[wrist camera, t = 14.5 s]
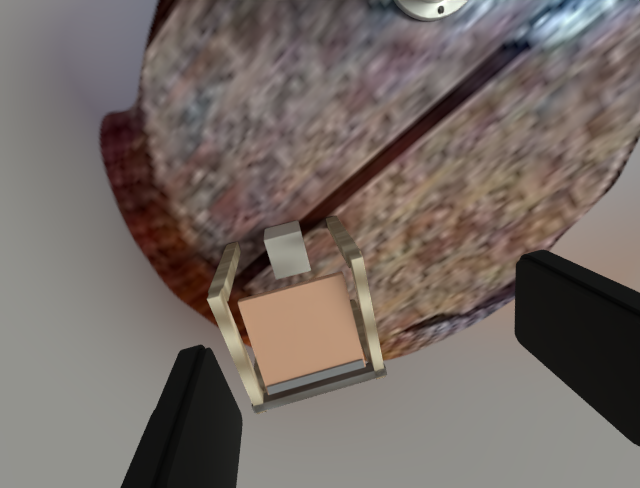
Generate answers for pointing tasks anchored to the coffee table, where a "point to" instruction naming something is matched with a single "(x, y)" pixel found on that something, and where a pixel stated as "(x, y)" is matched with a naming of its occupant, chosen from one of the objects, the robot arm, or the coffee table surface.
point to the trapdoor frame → (248, 374)
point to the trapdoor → (303, 332)
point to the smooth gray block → (286, 249)
